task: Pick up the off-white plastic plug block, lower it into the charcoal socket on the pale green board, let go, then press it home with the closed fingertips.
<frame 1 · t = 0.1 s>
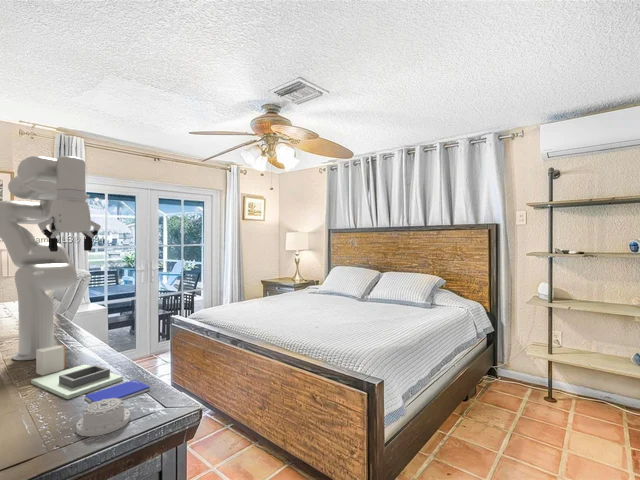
hand: (71, 251, 110), 37 cm above the cabinet, tool pointing down, fingers open, 9 cm apart
hard drive: (118, 397, 90), on the cabinet
plug: (50, 371, 106), on the cabinet
socket board: (77, 381, 98), on the cabinet
mechanical component: (104, 426, 76), on the cabinet
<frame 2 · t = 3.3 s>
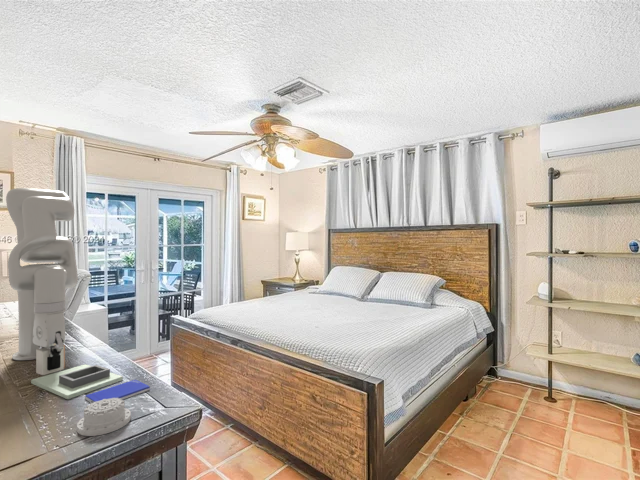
hand: (50, 366, 106), 1 cm above the cabinet, tool pointing down, fingers closed on plug, 4 cm apart
plug: (50, 371, 106), on the cabinet, touching gripper
everything else where it was.
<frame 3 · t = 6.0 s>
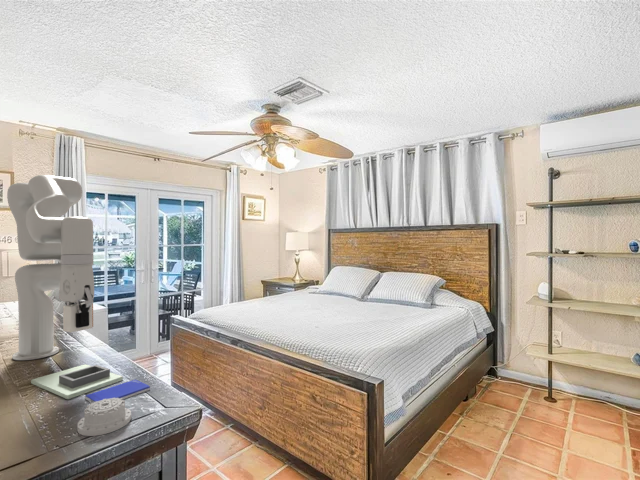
hand: (78, 325, 98), 16 cm above the cabinet, tool pointing down, fingers closed on plug, 4 cm apart
plug: (78, 329, 98), point 15 cm above the cabinet, touching gripper
everything else where it was.
when the fingers open (4 cm above the cabinet, at t = 8.8 s): plug drops 2 cm, resting on socket board.
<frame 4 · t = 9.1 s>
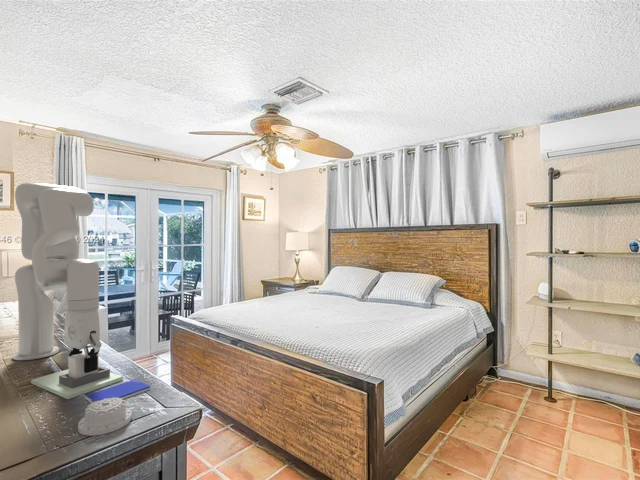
hand: (83, 368, 97), 4 cm above the cabinet, tool pointing down, fingers open, 7 cm apart
plug: (83, 380, 97), point 1 cm above the cabinet, touching socket board
everything else where it was.
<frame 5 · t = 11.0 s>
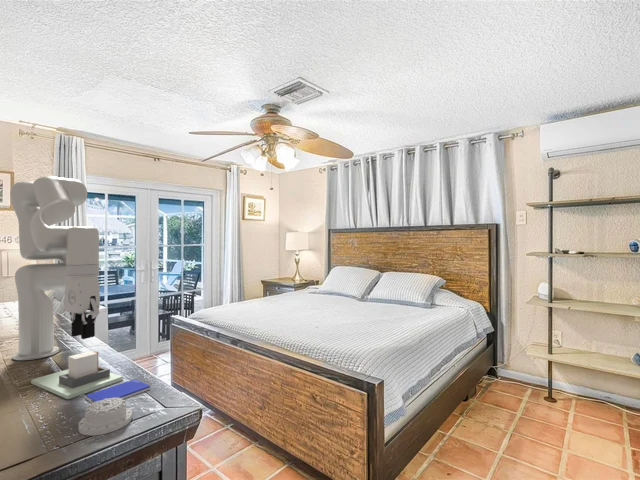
hand: (83, 335, 97), 13 cm above the cabinet, tool pointing down, fingers open, 4 cm apart
nothing on the cabinet moved.
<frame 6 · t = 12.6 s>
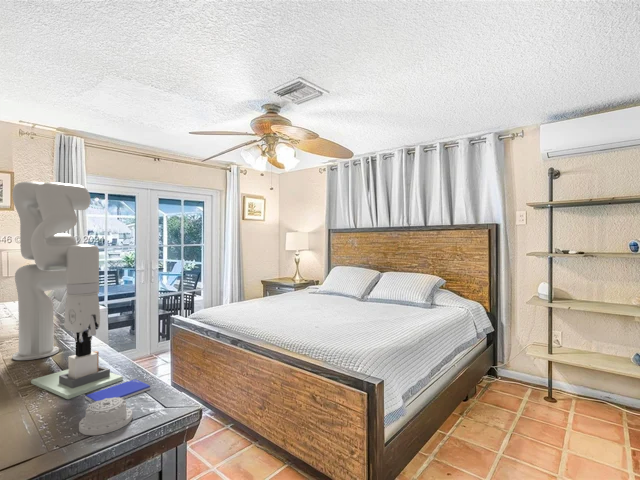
hand: (83, 355, 97), 8 cm above the cabinet, tool pointing down, fingers closed
plug: (83, 380, 97), point 1 cm above the cabinet, touching gripper, socket board
everything else where it was.
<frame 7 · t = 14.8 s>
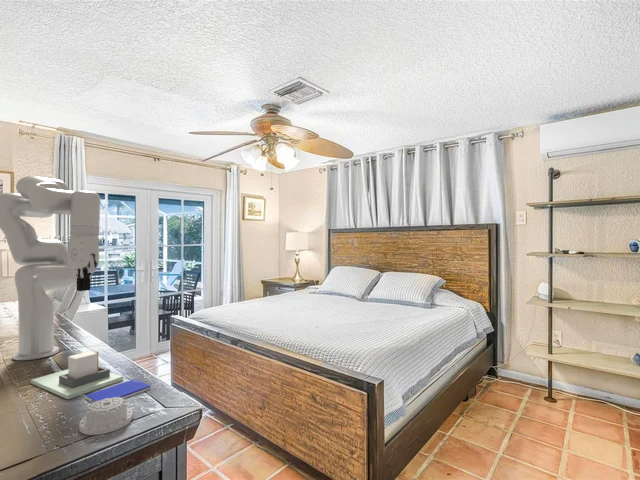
hand: (83, 290, 108), 24 cm above the cabinet, tool pointing down, fingers closed
plug: (83, 380, 97), point 1 cm above the cabinet, touching socket board
everything else where it was.
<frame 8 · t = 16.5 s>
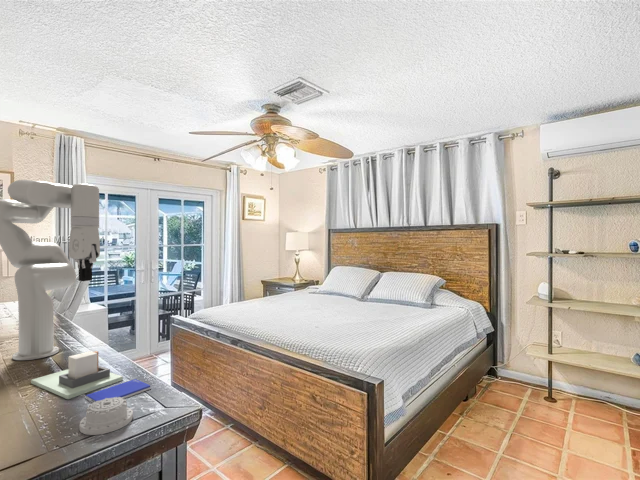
hand: (85, 280, 111), 27 cm above the cabinet, tool pointing down, fingers closed
nothing on the cabinet moved.
at the end: plug 0.1 cm from the target spot on the socket board, point 1.0 cm above the socket board's base; plug tilted 0°; the gripper is holding nothing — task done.
